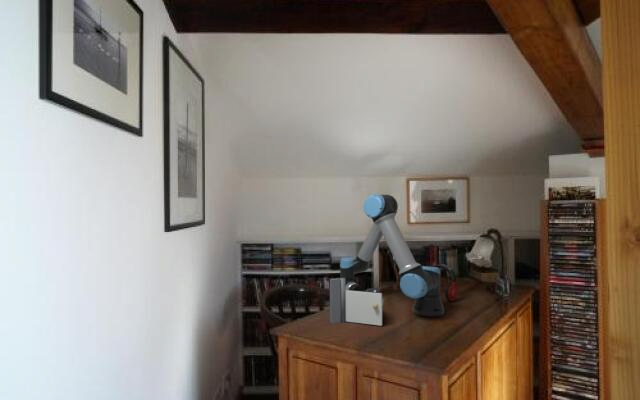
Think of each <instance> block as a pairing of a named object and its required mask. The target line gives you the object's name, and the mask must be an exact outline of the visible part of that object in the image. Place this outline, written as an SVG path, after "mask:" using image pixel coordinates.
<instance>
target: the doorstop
mask: <svg viewBox="0 0 640 400" xmlns="http://www.w3.org/2000/svg"><path fill="white" fill-rule="evenodd" d="M365 292H371V293H381V289H380V288H379V287H372V288H366V290H365ZM382 300H383V301H384V298H383V299H382Z"/></svg>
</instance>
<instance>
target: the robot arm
mask: <svg viewBox="0 0 640 400" xmlns="http://www.w3.org/2000/svg"><path fill="white" fill-rule="evenodd" d="M362 208H363V212H364V214H365V215H366V216H367V217H369V218H370V219H372V222H373V223H372V225H371V228H370V230H369V231H368V234H367V235H366V238H365V239H364V242H363V244H362V246H361V247H360V249H359V251H358V253H357V256H356V257H355V258H354V257H348V256H347V257H341V258H340V263H339V267H340V268H339V275H340V277H339V279H340V278H345V295H346V290H348V291H360V292H365V291H366V290H365V288H364V287H363V286H362V285H360V284H358V283H356V282H355V275H356V274H358V273H359V274H360V273H364V272H366V271H368V270H369V268H370V266H371V265H370V261H371V259H372V257H373V255H374V253H375V251H376V250H377V248H378V246H379V243H380V241H381V240H382V238H383V237H384V240H385V242H386V244H387V246H388V248H389V250H390V253H391V255H392V257H393V259H394V261H395V263H396V265H397V267H398V269H399V271H398V276H399V279H400V282H399V287H400V290H401V292H402V293H403V294H404V295H405V296H406V297H407V298H410V299H415V300H414V303H413V305H412V312H413V313H414V314H416V315H418V316H422V317H430V318H433V317H434V318H435V317H441V316H444V315H445V308H444V305H443V302H442V299H441V298H442V297H441V269H440V268H437V267H433V266H425V265H421V263H418V262H417V261H416V260H415V257H414V255H413V254H412V251H411V250H410V247H409V245H408V243H407V242H406V239H405V238H404V236H403V233H402V230H400V227H399V226H398V223H397V221H396V219H395V217H396V215H397V213H398V210H399V209H398V208H399V203H398V201H397V199H396V198H395V197H394V196H392V195H390V194H379V193H376V194H370V195H369V196H367V197H366V199H365V200H364V202H363V207H362ZM382 299H383V300H382V306H384V298H383V297H382Z"/></svg>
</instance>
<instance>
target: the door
mask: <svg viewBox="0 0 640 400" xmlns="http://www.w3.org/2000/svg"><path fill="white" fill-rule="evenodd" d="M382 298H383V293H382V292H380V293H371V292H360V291H348V290H346V294H345V307H346V322H348V323H356V324H357V323H358V324H366V325H374V326H380V327H381V326H383V305H382Z"/></svg>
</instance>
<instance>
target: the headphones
mask: <svg viewBox="0 0 640 400" xmlns="http://www.w3.org/2000/svg"><path fill="white" fill-rule="evenodd" d="M432 267H437V268H439V269H440V268H442V269H444V270H445V271H446V272H447V273H448V274H449V276H450V278H451V283H449V284H447V286H446V287H445V291H444V295H445V296H444V297H445V299H446V300H447V301H448V302H452V301H453V302H454V301H455V300H456V299H457V297H458V296H459V295H458V294H459V291H458V287H457V286H458V283H457V277H456V276H457V275H456V274H455V271H454V270H453V269H452V267H450V266H448V265H447V264H444V263H443V264H442V263H440V264H435V265H433V266H432Z"/></svg>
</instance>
